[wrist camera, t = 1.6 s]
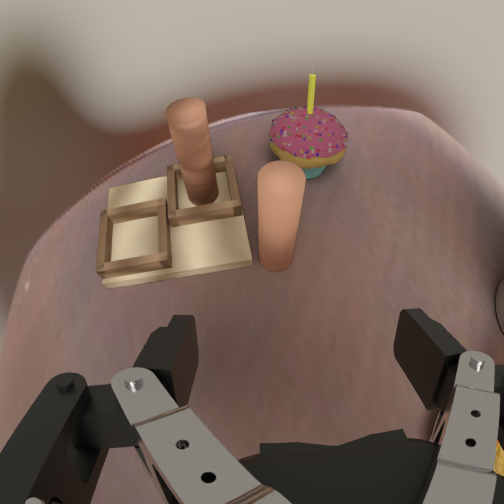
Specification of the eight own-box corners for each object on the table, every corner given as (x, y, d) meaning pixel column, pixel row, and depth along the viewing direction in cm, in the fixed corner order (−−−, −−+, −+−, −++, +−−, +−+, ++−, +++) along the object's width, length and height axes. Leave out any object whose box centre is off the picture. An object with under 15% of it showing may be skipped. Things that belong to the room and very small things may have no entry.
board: (233, 171, 36) (225, 80, 25) (252, 265, 30) (247, 175, 20) (113, 194, 35) (72, 115, 25) (107, 289, 29) (41, 218, 19)
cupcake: (266, 140, 39) (267, 56, 28) (334, 141, 38) (349, 60, 28) (269, 193, 34) (272, 100, 24) (346, 193, 34) (372, 105, 24)
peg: (288, 239, 32) (298, 158, 22) (296, 268, 30) (311, 192, 20) (255, 244, 31) (253, 163, 22) (262, 274, 30) (262, 199, 20)
